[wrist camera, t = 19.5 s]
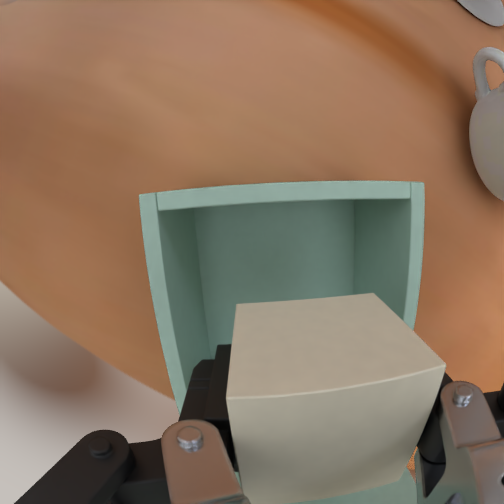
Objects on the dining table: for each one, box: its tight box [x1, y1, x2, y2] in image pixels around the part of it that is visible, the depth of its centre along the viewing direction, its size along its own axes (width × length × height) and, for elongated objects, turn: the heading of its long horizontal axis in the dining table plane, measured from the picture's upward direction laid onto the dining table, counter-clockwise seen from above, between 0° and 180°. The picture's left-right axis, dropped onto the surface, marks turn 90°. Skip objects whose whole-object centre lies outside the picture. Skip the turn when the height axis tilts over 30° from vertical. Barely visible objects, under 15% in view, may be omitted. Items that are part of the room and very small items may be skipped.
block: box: [226, 293, 446, 504], centre depth 7 cm, size 4×4×4 cm
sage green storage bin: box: [139, 181, 425, 415], centre depth 18 cm, size 16×13×9 cm
